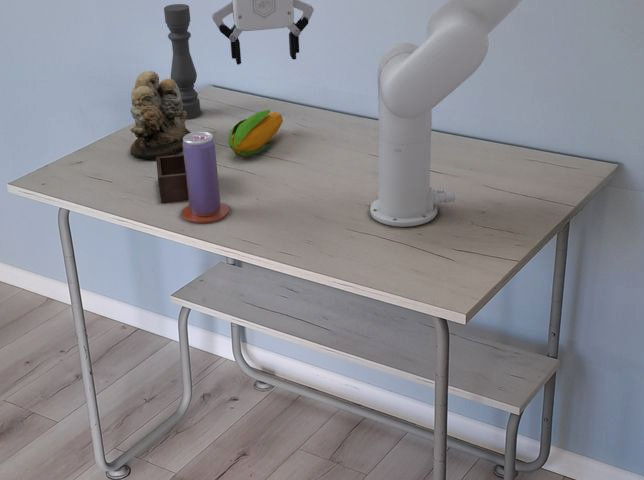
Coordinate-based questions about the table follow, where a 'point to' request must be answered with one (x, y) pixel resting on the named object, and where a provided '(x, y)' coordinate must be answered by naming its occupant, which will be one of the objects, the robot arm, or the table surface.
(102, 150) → the table surface
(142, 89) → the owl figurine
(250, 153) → the corn
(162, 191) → the caddy
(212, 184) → the beverage can
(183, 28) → the candle holder
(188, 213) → the coaster
